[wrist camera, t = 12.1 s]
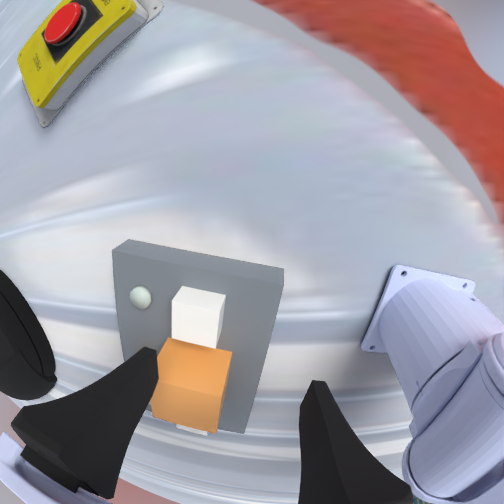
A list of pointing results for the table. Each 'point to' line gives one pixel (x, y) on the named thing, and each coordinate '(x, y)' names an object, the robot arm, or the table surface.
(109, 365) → the table surface
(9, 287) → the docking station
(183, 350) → the orange rounded cube
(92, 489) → the robot arm
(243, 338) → the breaker board
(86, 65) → the emergency button
